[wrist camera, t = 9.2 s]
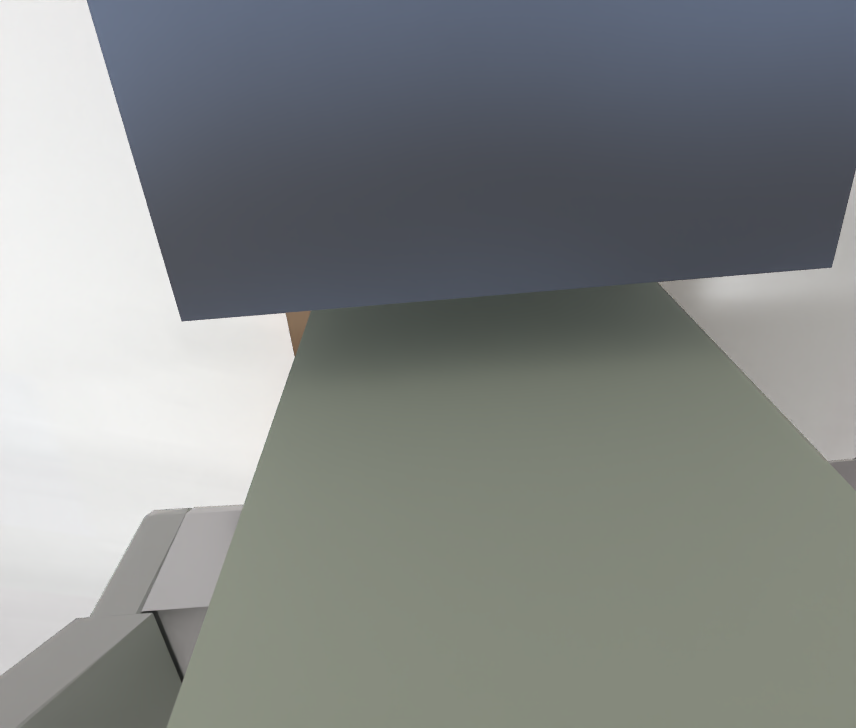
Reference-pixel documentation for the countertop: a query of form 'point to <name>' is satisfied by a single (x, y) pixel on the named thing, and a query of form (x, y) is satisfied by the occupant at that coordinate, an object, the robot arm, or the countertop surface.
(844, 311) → the countertop surface
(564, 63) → the book rack
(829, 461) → the robot arm
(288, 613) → the pale green box
